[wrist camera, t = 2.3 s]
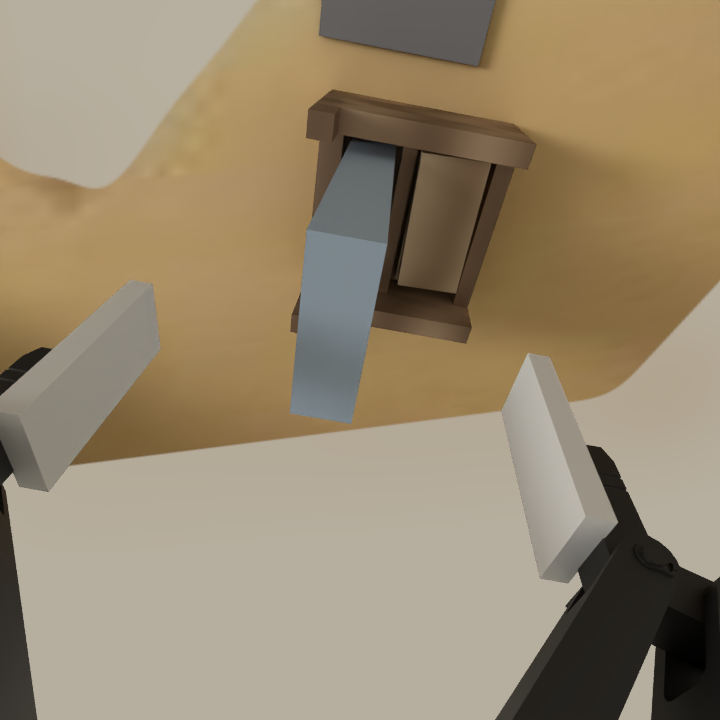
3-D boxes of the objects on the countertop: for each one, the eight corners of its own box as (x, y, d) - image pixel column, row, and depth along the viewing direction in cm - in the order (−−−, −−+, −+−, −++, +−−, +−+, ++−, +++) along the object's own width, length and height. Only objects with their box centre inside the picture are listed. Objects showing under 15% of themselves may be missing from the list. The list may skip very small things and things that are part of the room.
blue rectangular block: (336, 258, 32) (289, 413, 19) (353, 135, 28) (306, 229, 15) (373, 265, 32) (351, 423, 19) (396, 143, 28) (387, 244, 15)
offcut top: (397, 274, 31) (397, 284, 30) (421, 146, 26) (422, 152, 25) (453, 283, 31) (455, 293, 30) (487, 156, 26) (491, 162, 25)
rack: (312, 273, 34) (290, 331, 28) (332, 89, 27) (308, 108, 21) (457, 299, 35) (469, 363, 28) (513, 124, 28) (547, 154, 21)
